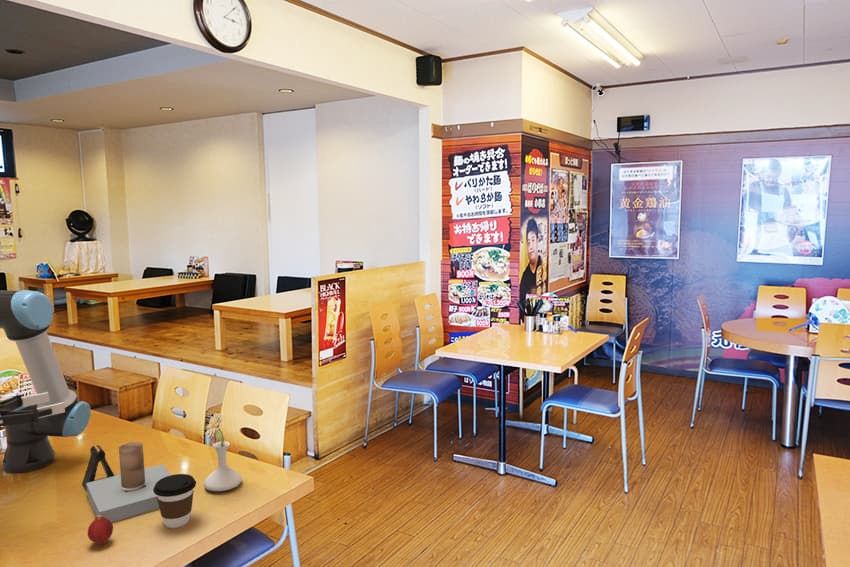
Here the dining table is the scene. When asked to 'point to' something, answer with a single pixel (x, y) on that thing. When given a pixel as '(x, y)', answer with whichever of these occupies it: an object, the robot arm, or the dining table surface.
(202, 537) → the dining table surface
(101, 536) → the onion
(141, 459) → the walnut peg
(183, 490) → the coffee cup
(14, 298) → the robot arm
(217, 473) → the flower in vase
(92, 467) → the phone stand
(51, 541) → the dining table surface
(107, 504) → the slate board
